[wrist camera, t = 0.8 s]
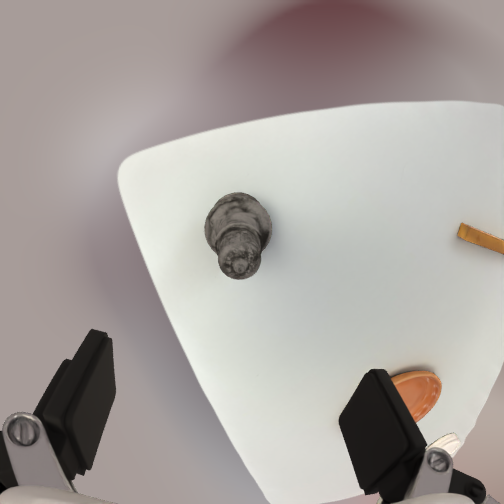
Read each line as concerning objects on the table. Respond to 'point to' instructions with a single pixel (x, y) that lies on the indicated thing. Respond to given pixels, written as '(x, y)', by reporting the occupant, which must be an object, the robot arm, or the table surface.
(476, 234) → the golden stick
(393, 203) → the table surface
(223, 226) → the salt shaker
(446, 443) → the coaster
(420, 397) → the saucer
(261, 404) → the table surface
